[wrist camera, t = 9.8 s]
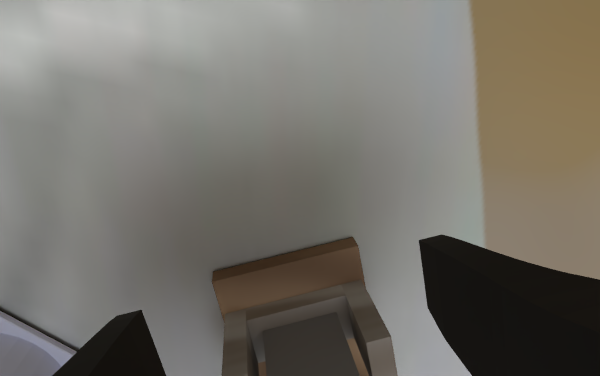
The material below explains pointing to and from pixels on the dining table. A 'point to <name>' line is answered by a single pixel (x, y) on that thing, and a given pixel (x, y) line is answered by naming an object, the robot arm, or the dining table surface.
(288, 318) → the cradle
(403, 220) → the dining table surface
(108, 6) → the dining table surface
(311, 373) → the grey rectangular block
